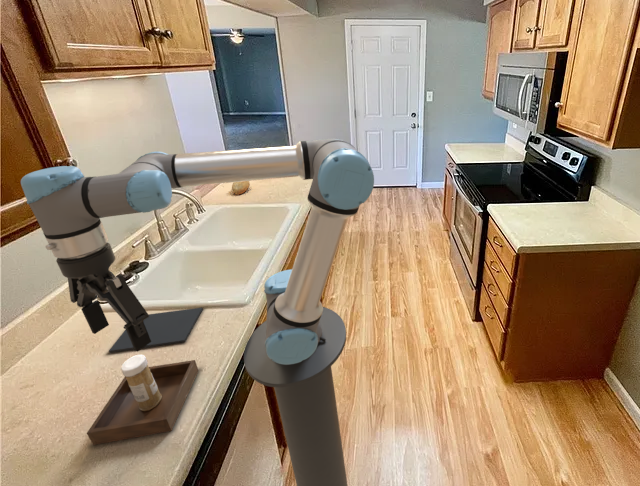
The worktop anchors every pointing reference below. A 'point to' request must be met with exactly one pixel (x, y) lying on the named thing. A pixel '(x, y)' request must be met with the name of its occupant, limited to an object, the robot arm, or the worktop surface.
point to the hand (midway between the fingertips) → (121, 337)
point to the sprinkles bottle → (141, 382)
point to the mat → (163, 329)
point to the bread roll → (240, 187)
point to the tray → (131, 422)
